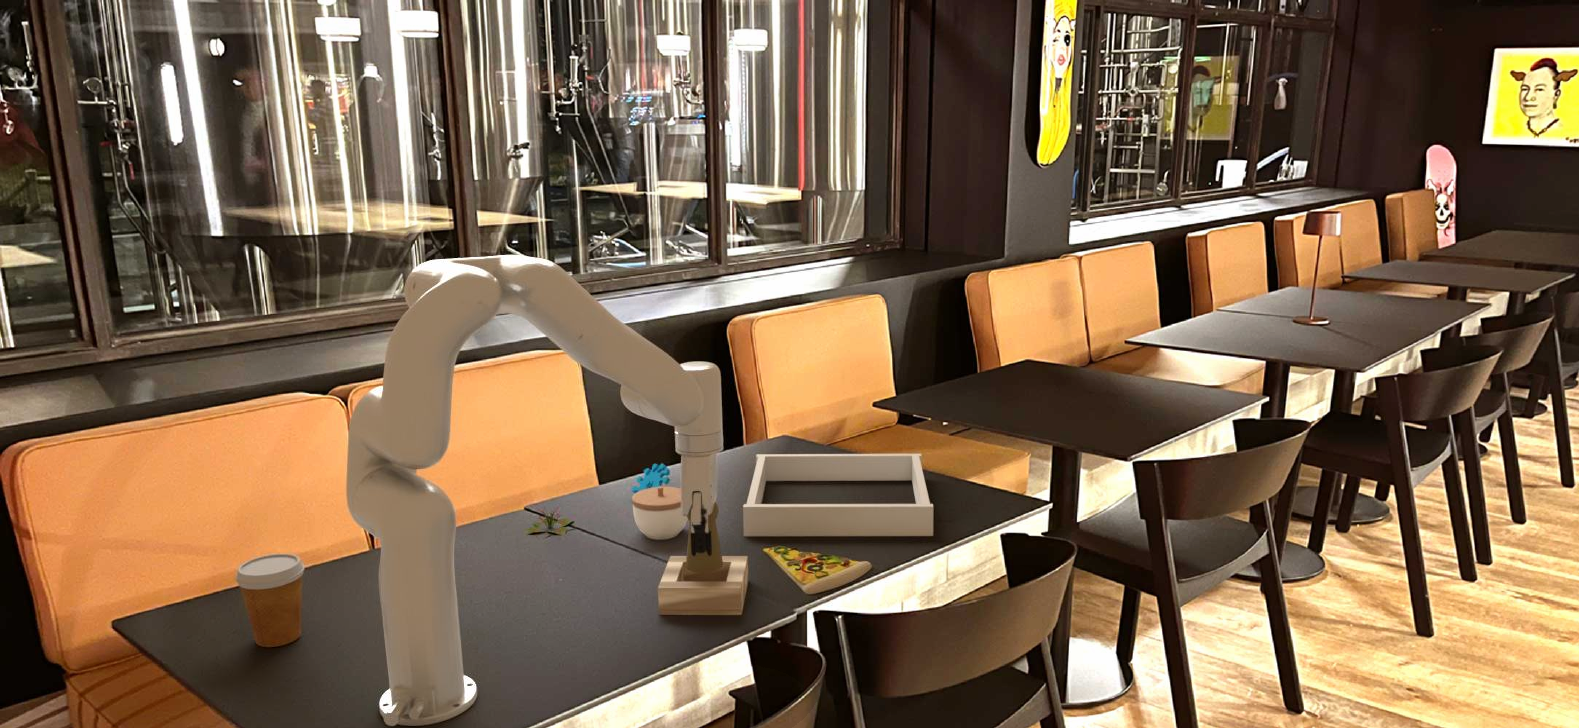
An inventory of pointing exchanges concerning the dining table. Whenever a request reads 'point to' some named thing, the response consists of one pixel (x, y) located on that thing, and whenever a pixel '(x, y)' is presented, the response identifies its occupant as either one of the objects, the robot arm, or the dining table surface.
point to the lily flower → (550, 524)
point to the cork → (702, 560)
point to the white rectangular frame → (838, 516)
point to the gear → (652, 478)
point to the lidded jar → (659, 512)
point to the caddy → (703, 588)
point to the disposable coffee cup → (273, 597)
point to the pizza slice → (817, 568)
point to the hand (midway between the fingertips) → (703, 548)
